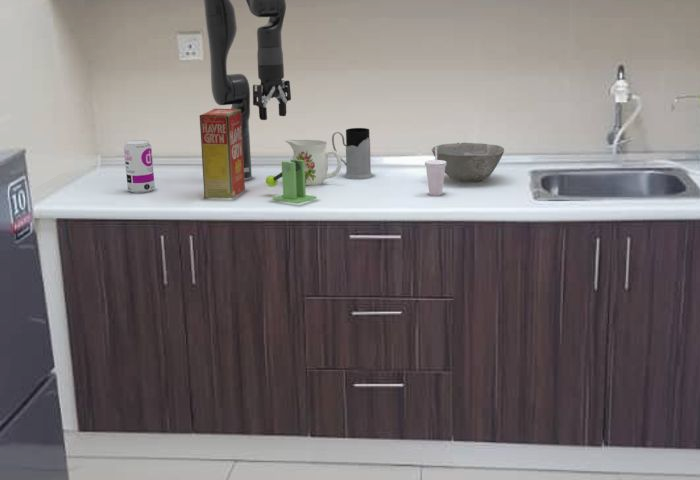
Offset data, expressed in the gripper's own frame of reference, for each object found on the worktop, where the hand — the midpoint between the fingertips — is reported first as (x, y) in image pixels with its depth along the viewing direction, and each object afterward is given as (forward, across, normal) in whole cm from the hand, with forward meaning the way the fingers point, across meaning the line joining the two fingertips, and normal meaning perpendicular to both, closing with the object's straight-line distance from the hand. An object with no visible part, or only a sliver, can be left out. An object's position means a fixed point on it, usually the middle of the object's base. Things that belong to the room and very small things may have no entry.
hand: (273, 117), depth 293 cm
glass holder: (+22, -30, +6) cm, 38 cm away
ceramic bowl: (+22, -43, +42) cm, 64 cm away
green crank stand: (+22, +8, +14) cm, 27 cm away
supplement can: (+22, +22, -36) cm, 48 cm away
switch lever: (+16, +8, +10) cm, 21 cm away
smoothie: (+22, -21, +44) cm, 54 cm away
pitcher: (+22, -12, +5) cm, 26 cm away
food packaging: (+22, +13, -9) cm, 27 cm away
